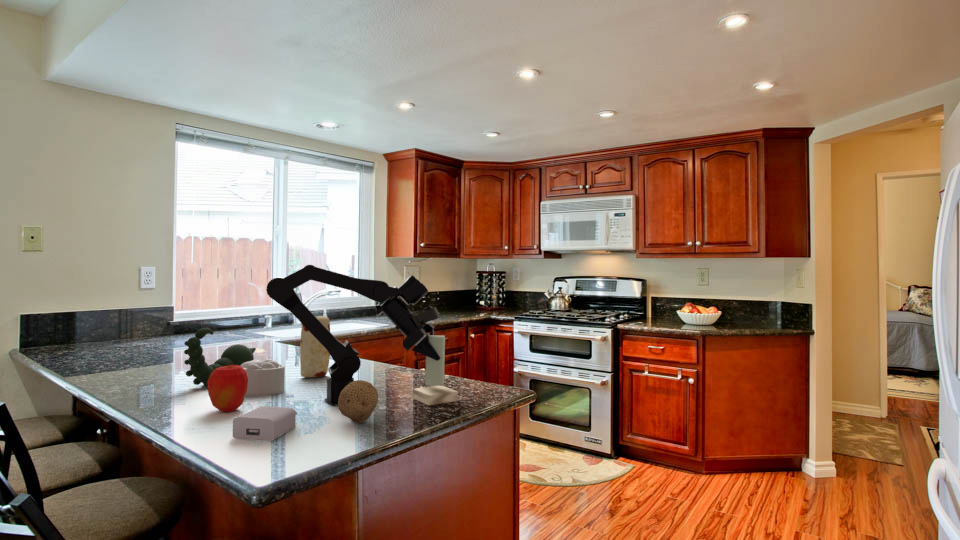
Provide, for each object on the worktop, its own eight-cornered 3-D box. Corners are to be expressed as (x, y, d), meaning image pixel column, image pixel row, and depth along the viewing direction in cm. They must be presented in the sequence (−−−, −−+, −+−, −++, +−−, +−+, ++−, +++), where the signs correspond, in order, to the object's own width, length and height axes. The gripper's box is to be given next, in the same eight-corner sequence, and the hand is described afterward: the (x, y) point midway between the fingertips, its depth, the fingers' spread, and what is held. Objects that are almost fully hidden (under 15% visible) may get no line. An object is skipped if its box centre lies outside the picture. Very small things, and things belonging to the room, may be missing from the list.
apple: (229, 404, 132) (230, 357, 132) (256, 408, 129) (257, 360, 129) (198, 413, 123) (198, 363, 123) (225, 417, 120) (226, 366, 120)
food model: (303, 380, 161) (304, 317, 161) (296, 376, 167) (297, 315, 167) (333, 376, 167) (334, 316, 167) (325, 373, 173) (326, 314, 173)
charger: (309, 421, 119) (273, 442, 104) (272, 419, 120) (232, 439, 105) (309, 401, 119) (273, 419, 104) (272, 399, 120) (232, 416, 106)
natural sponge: (368, 431, 111) (368, 385, 111) (330, 428, 113) (330, 383, 113) (383, 419, 120) (384, 377, 120) (348, 417, 122) (348, 375, 122)
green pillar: (425, 385, 138) (426, 337, 138) (428, 381, 142) (429, 335, 142) (441, 385, 138) (442, 337, 138) (444, 382, 142) (445, 335, 142)
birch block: (428, 407, 134) (428, 395, 134) (412, 399, 141) (412, 388, 141) (457, 402, 139) (457, 391, 139) (440, 395, 146) (440, 385, 146)
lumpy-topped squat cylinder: (253, 386, 153) (253, 357, 153) (292, 388, 151) (292, 359, 151) (229, 394, 143) (230, 363, 143) (271, 397, 140) (272, 365, 140)
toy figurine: (204, 398, 144) (268, 374, 167) (199, 332, 142) (265, 317, 166) (179, 395, 147) (245, 371, 171) (175, 330, 146) (242, 315, 169)
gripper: (416, 298, 131) (458, 342, 130) (428, 295, 150) (464, 333, 149) (385, 328, 131) (426, 372, 131) (400, 321, 150) (437, 360, 149)
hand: (440, 358), depth 140 cm, fingers closed on green pillar, 4 cm apart
